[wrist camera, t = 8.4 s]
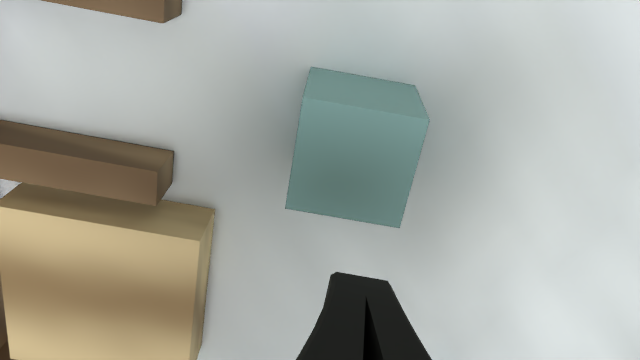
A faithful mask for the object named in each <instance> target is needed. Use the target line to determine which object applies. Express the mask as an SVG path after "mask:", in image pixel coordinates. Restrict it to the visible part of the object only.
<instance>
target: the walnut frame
mask: <svg viewBox="0 0 640 360" xmlns="http://www.w3.org/2000/svg"><path fill="white" fill-rule="evenodd" d="M42 1H47V2H52V3H58V4H63V5H68V6H74V7H79V8H84V9H89V10H95V11H100V12H105V13H111V14H116V15H121V16H126V17H132V18H137V19H142V20H148V21H153V22H158V23H165V22H167V21H169V20H171V19H173V18H175V17H177V16H179V15H181V8H182V0H42ZM173 155H174V151H169V150H164V149H158V148H153V147H147V146H141V145H136V144H130V143H125V142H119V141H114V140H108V139H103V138H97V137H92V136H86V135H81V134H75V133H70V132H64V131H59V130H53V129H47V128H42V127H36V126H31V125H25V124H20V123H14V122H9V121H3V120H0V179H6V180H11V181H17V182H23V183H28V184H34V185H40V186H45V187H51V188H57V189H62V190H68V191H73V192H79V193H85V194H90V195H96V196H102V197H107V198H113V199H119V200H124V201H130V202H136V203H141V204H147V205H152V206H157V204H158V203H159V201H160V200H161V198H162V197H163V196H164V194H165V193H166V191H167V190H168V188H169V187H170V185H171V184H172V173H173ZM0 360H16V359H10V352H9V344H8V335H7V326H6V318H5V309H4V301H3V292H2V283H1V275H0Z"/></svg>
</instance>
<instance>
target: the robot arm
mask: <svg viewBox="0 0 640 360" xmlns="http://www.w3.org/2000/svg"><path fill="white" fill-rule="evenodd" d="M296 360H432V359H431V357H430V356H429V354H428V353H427V351H426V349H425V348H424V346H423V344H422V343H421V341H420V339H419V338H418V336H417V334H416V333H415V331H414V329H413V327H412V326H411V324H410V322H409V320H408V318H407V316H406V315H405V313H404V311H403V309H402V307H401V305H400V303H399V301H398V299H397V297H396V295H395V293H394V291H393V289H392V287H391V285H390V284H389V282H388V281H385V280H380V279H374V278H368V277H362V276H357V275H351V274H345V273H340V272H336V273H334V274H332V275H331V276H330V281H329V285H328V289H327V294H326V298H325V302H324V307H323V309H322V312H321V314H320V316H319V318H318V320H317V323H316V325H315V327H314V329H313V331H312V333H311V335H310V336H309V338H308V340H307V342H306V343H305V345H304V347H303V349H302V350H301V352H300V354H299V356H298V357H297V359H296Z"/></svg>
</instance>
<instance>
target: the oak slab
mask: <svg viewBox="0 0 640 360" xmlns="http://www.w3.org/2000/svg"><path fill="white" fill-rule="evenodd" d="M214 214H215V209H211V208H205V207H200V206H194V205H189V204H183V203H178V202H172V201H166V200H160V201H159V203H158V204H157V206H152V205H147V204H141V203H136V202H130V201H124V200H119V199H113V198H107V197H102V196H96V195H90V194H85V193H79V192H73V191H68V190H62V189H57V188H51V187H45V186H40V185H34V184H28V183H23V182H22V183H21V184H19V185H18V186H17V187H15V188H14V189H13V190H12V191H10V192H9V193H8V194H6V195H5V196H4V197H3V198H1V199H0V275H1V283H2V292H3V301H4V309H5V318H6V326H7V335H8V344H9V352H10V359H16V360H196V359H197V356H198V353H199V351H200V348H201V343H202V333H203V323H204V313H205V303H206V293H207V283H208V273H209V263H210V254H211V244H212V234H213V224H214Z"/></svg>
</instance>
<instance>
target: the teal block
mask: <svg viewBox="0 0 640 360" xmlns="http://www.w3.org/2000/svg"><path fill="white" fill-rule="evenodd" d="M428 124H429V117H428V115H427V112H426V110H425V108H424V105H423V103H422V101H421V98H420V96H419V94H418V91H417V89H416V87H415V85H410V84H404V83H398V82H393V81H387V80H382V79H376V78H371V77H365V76H359V75H354V74H348V73H343V72H337V71H332V70H326V69H320V68H315V67H311V69H310V73H309V76H308V80H307V84H306V87H305V91H304V95H303V99H302V105H301V111H300V118H299V124H298V130H297V137H296V143H295V149H294V156H293V162H292V168H291V174H290V181H289V187H288V193H287V200H286V206H285V209H291V210H297V211H303V212H309V213H314V214H320V215H326V216H332V217H338V218H343V219H349V220H355V221H361V222H367V223H372V224H378V225H384V226H390V227H396V228H400V224H401V221H402V217H403V214H404V210H405V207H406V203H407V199H408V196H409V192H410V189H411V185H412V181H413V178H414V174H415V171H416V167H417V163H418V160H419V156H420V153H421V149H422V145H423V142H424V138H425V135H426V131H427V127H428Z"/></svg>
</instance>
